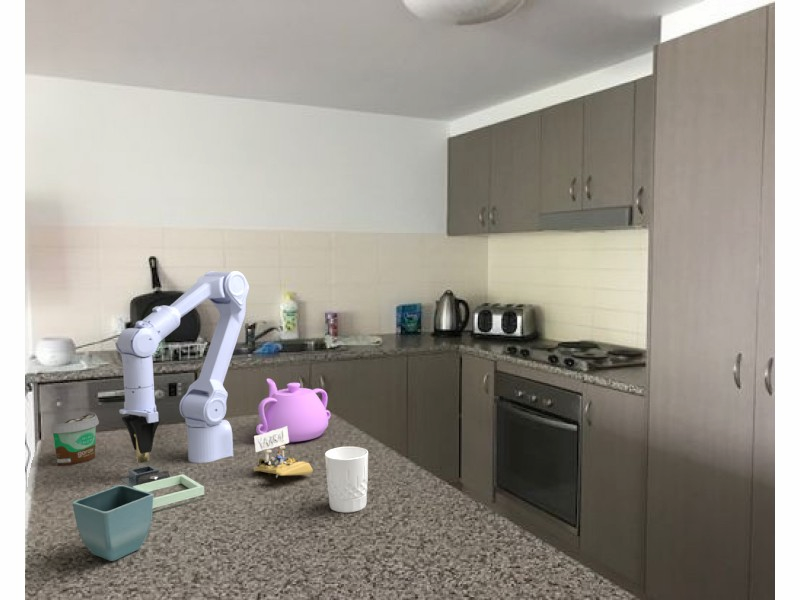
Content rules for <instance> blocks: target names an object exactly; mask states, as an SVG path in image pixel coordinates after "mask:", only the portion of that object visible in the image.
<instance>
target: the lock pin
mask: <svg viewBox="0 0 800 600" xmlns="http://www.w3.org/2000/svg"><path fill="white" fill-rule="evenodd" d="M134 437H136V434H135V433H134ZM135 451H136V462H137V463H138V464H144V463H148V462H150V452H147V453H143V454H141V453H140V451H139V448H138V443H137V438H136V450H135Z"/></svg>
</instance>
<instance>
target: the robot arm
mask: <svg viewBox="0 0 800 600" xmlns="http://www.w3.org/2000/svg"><path fill="white" fill-rule="evenodd" d="M249 290H250V285H249V282H248V280H247V278H246V277H245V275H244V274H243V273H242V272H241V271H238V270H233V271H213V270H211V271H208V272H206V273H205V274H204V275H202V276H200V277H198V278H197V280H196V282H195V283H194V284H193V285H192V286H190V288H188V289H187V290H186V291H185V292H184V293H183V294H182V295H181V296H180V297H178V298H177V299H176V300H175V301H174V302H173V303H171V304H170V305H160V306H159V305H157V306H155V307H153V308H152V310H151V311H152V312H151V313H150V314H149V315H147V316H146V317H145V318H143V319H142V320H137V321H136V322H135V325H134V327H129V328H125V329H124V330H122V331H121V333H120V334H119V335H118V337H117V341H116V342H115V348H116V350H117V352H118V353H119V355H120V356H121V362H122V372H123V374H122V375H123V388H124V389H123V390H124V391H123V393H124V402H123V408H121V409H119V411H118V412H119V414H120V415H125V414H126V416H122V418H121V420H122V421H123V423H124V425H125V427H126V428H127V431H128V434H129V437H130V439H131V443H132V444H131V445H132V448H133V449H134V451H136V438H137V443H138V448H139V451H140V453H141V454H143V453H147V452H149V453H151V452H152V449H153V445H154V439H155V434H156V432H157V429H158V426H159V425H160V423H161V418H160V417H159V412H158V411H157V405H156V398H155V383H154V381H155V379H154V364H153V363H154V362H153V354H155V352H156V351H157V349H158V347H159V344H160V342H161V341H163V340H164V339H165V338H166V337H167V336H169V335H170V334H171V333H172V332H174V331H175V330H176V329H177V328H179V326H180V325H181V318H183V317H184V316H185V315H187V314H188V313H189V312H191V311H192V310H193V309H195V308H196V307H198V306H200V304H201V305H202V303H203V302H205V301H207V300H208V301H209V302H210V303H211V304H213V305H214V308H216V309H217V311H218V313H219V317H218V319H217V322H216V323H217V324H216V326H215V328H214V329H215V330H214V332H213V335H212V338H211V341H210V343H209V344H210V345H209V346H208V350H207V353H206V355H205V358H204V362H203V365H202V368H201V370H200V374H199V376H198V378H197V379H196V380H195V381H194V382H192V383H191V384H190V385H189V386H188V389H187V391H186V393H185V394H184V395H183V396H182V398H181V399H180V401H179V406H178V407H179V413H180V415H181V417H182V418H184V419H185V420H184V421H185V424H186V434H187V457H188V461H189V462H190V463H194V464H196V463H197V464H203V463H210V462H215V461H218V460H222V459H224V458H229V457H234V443H233V429H232V425H231V424H230V422H229V421H228V420H227V419H224V418H225V417H226V413H227V399H228V396H229V394H228V391H227V390H226V389H225V387H224V385H223V384H224V383H225V382H224V381H225V379H226V375H227V372H228V370H229V366H230V362H231V361H232V360H231V359H232V358H233V357H232V356H233V353H234V350H235V347H236V345H237V340H238V339H239V335H240V332H241V330H242V326H243V323H244V319H245V316H246V313H247V312H246V310H247V309H246V308H247V306H246V305H247V304H246V303H247V301H246V300H247V297H248V294H249ZM134 433H135V434H136V437H134Z"/></svg>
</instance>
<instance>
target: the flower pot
mask: <svg viewBox="0 0 800 600" xmlns="http://www.w3.org/2000/svg"><path fill="white" fill-rule="evenodd" d="M153 497H154V498H155V494H154V493H153V492H150V491H149V492H145V491H142V490H138V489H134V488H131V487H130V486H129V485H123V484H119V485H115V486H111V487H110V488H107V489H104V490H101V491H100V492H96V493H93V494H90V495H88V496H85V497H82V498H80V499H76V500H73V501H72V503H71V504H72V509H73V514H74V518H75V522H76V528H77V530H78V534H79V536H80V539H81V540H82V542H83V544H84V545H85V546H86V548H87V549H88V551H90V552H91V554H92V555H94V556H97V557H100V558H101V559H104V560H107V561H110V562H114V561H117V560H119V559H121V558H123V557H125V556H127V555H129V554H132V553H134V552H136V551H138V550H139V549H140V548H141V547H142V545H144V544H143V543H144V542H145V541H146V538H147V536H148V535H149V532H150V529H151V525H152V519H153V514H152V512H153V511H154V510H153V509H154V508H153Z"/></svg>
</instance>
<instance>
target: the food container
mask: <svg viewBox="0 0 800 600" xmlns="http://www.w3.org/2000/svg"><path fill="white" fill-rule="evenodd" d="M99 424H100V420H99V419H98V416H97V414H96V413H95V412H92V411H85V415H83V416H81V417H78V418H72V419H68V420H67V421H65V422H64V423H52V424H51V428H50V434H53V442H54V448H55V455H56V457H55V458H56V464H57V466H58V467H68V466H69V467H70V466H74V465H78V464H83V463H88V462H91V461H92V460H94V459H95V458H96V437H97V436H96V435H97V434H96V432H97V431H96V430H97V426H98V425H99ZM90 460H91V461H90Z"/></svg>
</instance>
